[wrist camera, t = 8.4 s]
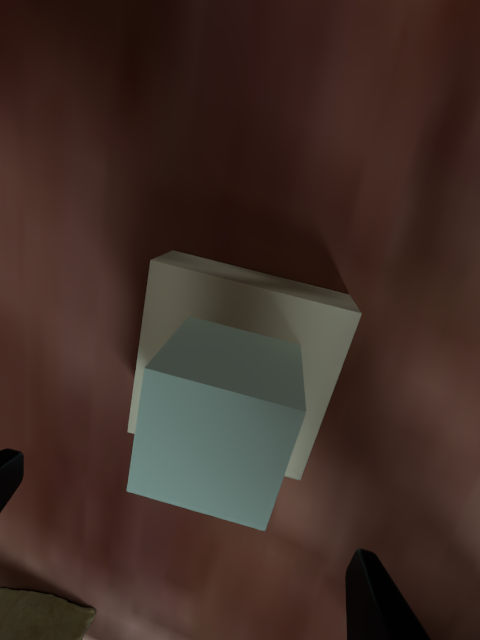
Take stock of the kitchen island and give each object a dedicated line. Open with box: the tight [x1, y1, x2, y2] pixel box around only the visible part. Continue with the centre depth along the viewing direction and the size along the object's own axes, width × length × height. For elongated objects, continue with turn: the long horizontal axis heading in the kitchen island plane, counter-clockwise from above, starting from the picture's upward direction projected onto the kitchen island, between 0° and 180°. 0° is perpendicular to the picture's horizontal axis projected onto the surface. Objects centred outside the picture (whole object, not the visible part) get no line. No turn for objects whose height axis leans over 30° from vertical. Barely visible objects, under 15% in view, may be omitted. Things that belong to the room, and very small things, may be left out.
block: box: [127, 316, 306, 531], centre depth 14 cm, size 5×5×5 cm
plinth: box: [128, 250, 362, 480], centre depth 17 cm, size 9×9×3 cm
